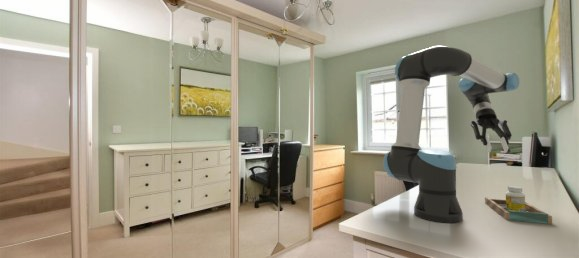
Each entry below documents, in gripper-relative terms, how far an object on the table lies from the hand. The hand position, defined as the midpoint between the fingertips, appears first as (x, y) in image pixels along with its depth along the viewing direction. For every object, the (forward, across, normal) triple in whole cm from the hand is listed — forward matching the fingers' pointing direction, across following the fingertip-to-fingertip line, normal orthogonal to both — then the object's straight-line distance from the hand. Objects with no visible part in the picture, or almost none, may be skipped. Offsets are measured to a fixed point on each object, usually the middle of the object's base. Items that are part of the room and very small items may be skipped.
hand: (498, 150), depth 107 cm
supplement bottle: (+25, -1, -7) cm, 26 cm away
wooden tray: (+24, -1, -7) cm, 25 cm away
